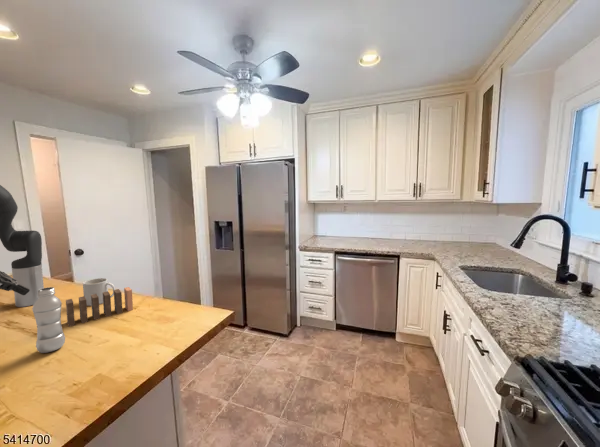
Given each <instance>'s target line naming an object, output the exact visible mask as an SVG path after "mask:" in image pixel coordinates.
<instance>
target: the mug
mask: <svg viewBox="0 0 600 447" xmlns="http://www.w3.org/2000/svg"><path fill="white" fill-rule="evenodd" d="M109 286H110V287H111V288H112V294H110V298H114V290H117V289H116V287H115V284H113V283H112V282H108V278H105V277H99V278H92V279H89V280H86V281H85V280H84V281H83V282H82V291H83V293H82V294H83V296H85V298H86V303H87V307H88V306H90V307H92V304H91V295H92V294H97V295H98V297H99V305H103V292H107V291H108V292H109Z"/></svg>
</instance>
